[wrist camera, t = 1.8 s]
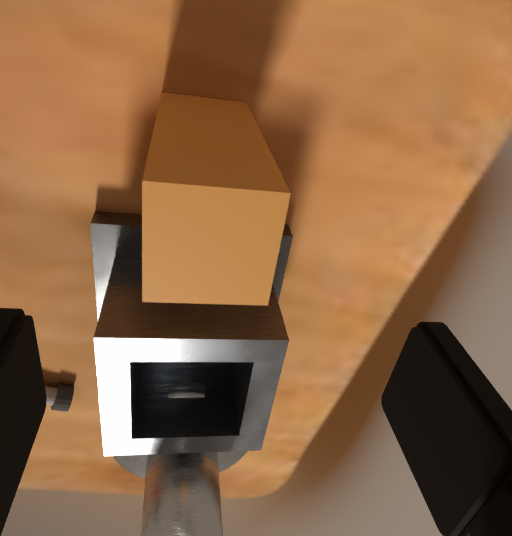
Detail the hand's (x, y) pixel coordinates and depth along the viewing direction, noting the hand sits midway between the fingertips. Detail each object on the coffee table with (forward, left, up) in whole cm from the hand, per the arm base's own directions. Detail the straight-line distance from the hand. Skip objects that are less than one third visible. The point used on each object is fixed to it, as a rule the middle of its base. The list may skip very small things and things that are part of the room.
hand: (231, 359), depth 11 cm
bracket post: (+16, 0, -16) cm, 23 cm away
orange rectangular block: (0, 0, -16) cm, 16 cm away
